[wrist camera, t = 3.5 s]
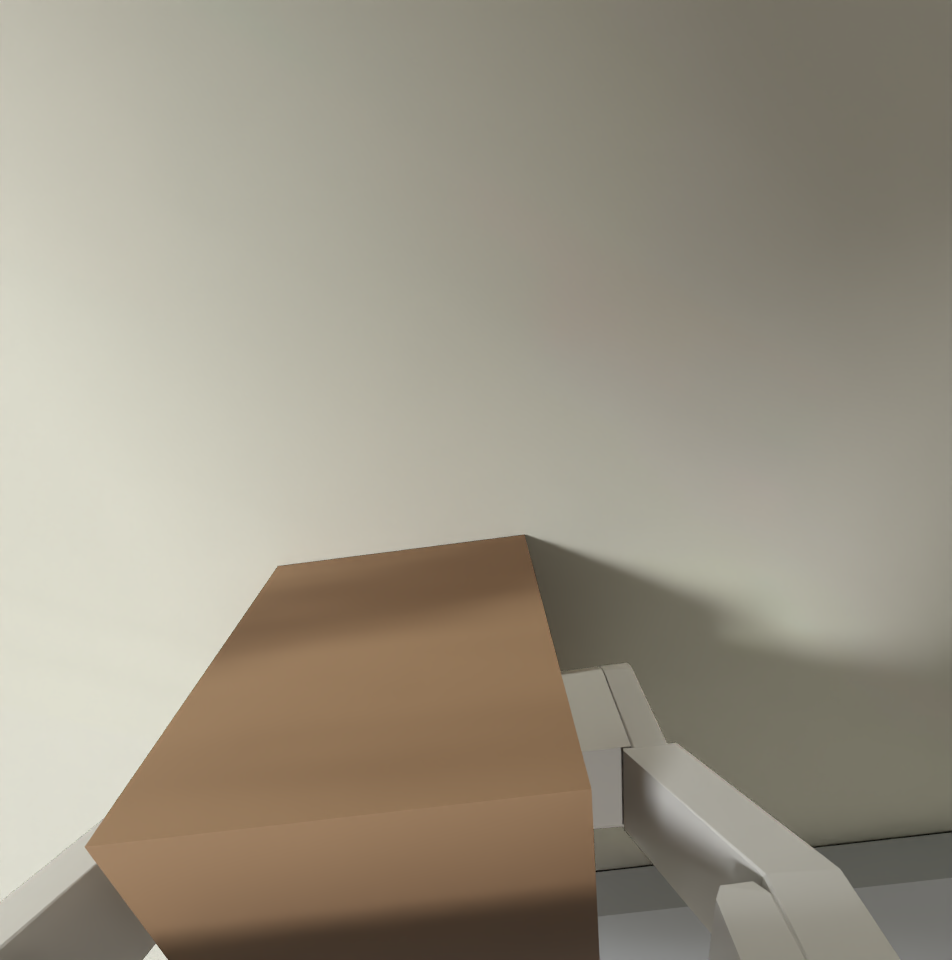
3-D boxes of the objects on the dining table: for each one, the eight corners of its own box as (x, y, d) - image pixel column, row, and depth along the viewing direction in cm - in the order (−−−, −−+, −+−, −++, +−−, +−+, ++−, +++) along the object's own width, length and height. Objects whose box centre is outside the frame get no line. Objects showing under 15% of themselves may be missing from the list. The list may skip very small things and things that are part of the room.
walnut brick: (278, 565, 9) (85, 846, 4) (524, 534, 9) (591, 788, 4) (338, 740, 11) (246, 1065, 6) (542, 716, 11) (602, 1030, 6)
